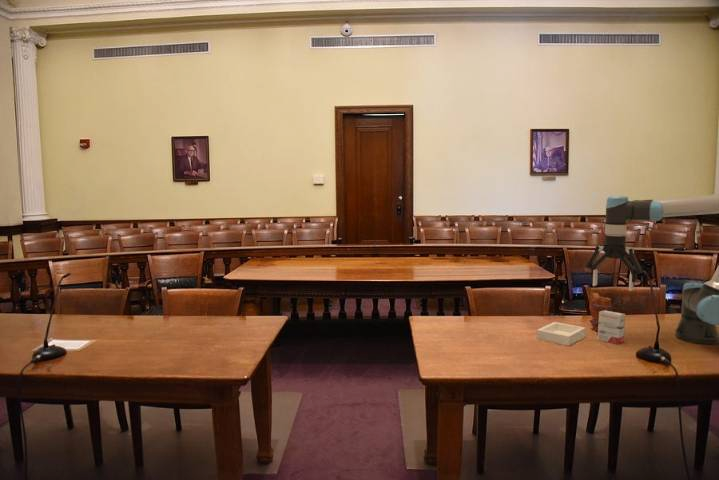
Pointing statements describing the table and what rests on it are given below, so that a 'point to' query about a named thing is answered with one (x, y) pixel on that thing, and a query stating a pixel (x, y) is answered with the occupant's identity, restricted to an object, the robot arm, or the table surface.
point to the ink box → (611, 327)
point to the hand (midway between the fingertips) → (612, 287)
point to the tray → (561, 333)
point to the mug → (598, 308)
